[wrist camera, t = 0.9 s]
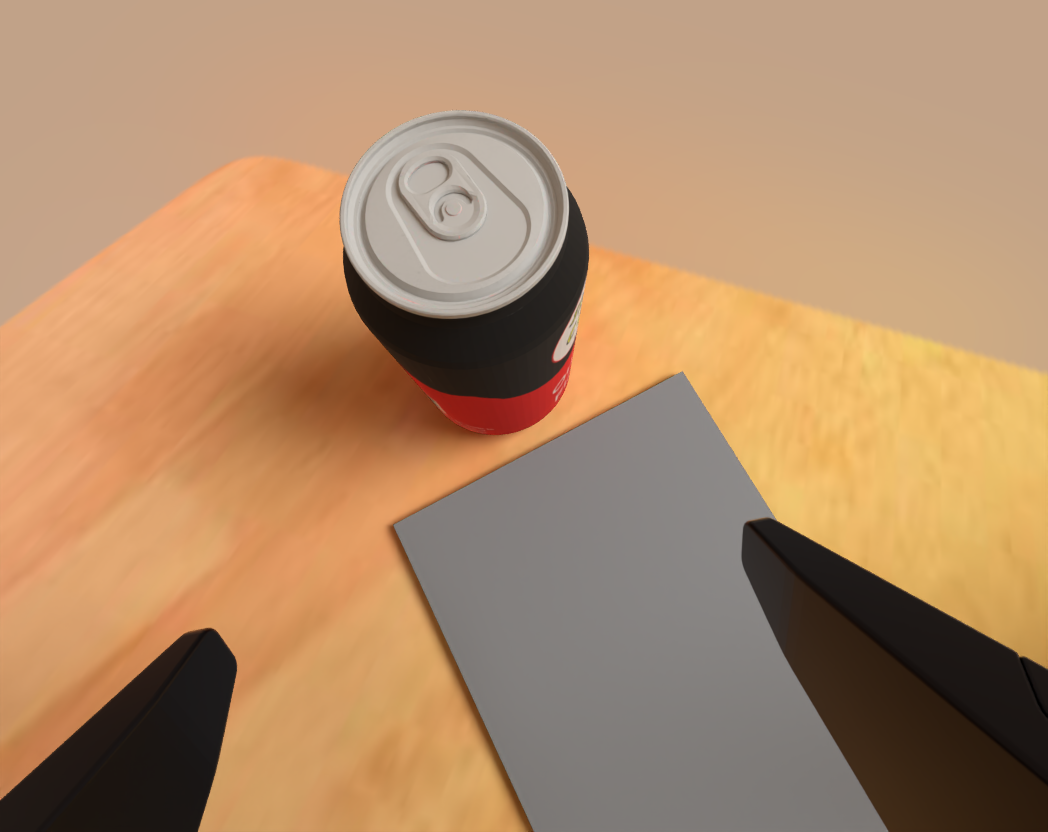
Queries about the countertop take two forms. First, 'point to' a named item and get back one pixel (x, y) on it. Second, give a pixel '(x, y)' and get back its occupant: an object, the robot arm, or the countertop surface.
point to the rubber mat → (630, 634)
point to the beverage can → (468, 264)
